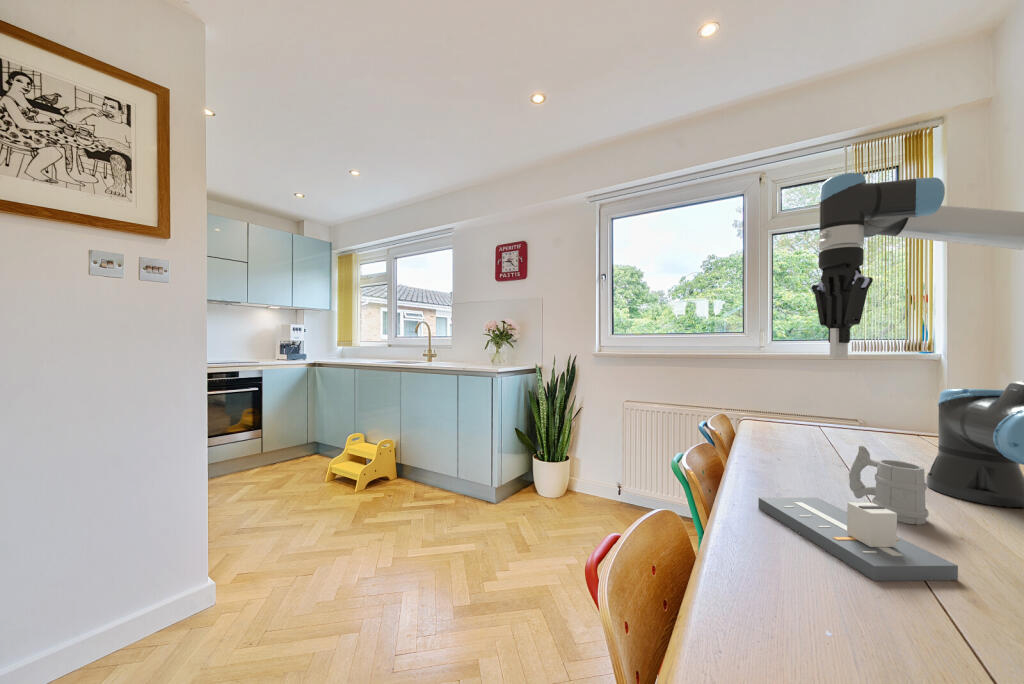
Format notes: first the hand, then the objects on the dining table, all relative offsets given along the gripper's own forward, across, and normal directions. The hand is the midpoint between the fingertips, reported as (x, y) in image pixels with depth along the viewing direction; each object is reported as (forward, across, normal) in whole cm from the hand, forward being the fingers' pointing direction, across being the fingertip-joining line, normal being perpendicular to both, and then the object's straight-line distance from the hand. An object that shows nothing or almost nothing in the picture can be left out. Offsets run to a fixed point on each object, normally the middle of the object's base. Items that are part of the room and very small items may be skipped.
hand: (838, 358), depth 87 cm
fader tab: (+27, +24, -16) cm, 40 cm away
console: (+29, +19, -16) cm, 38 cm away
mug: (+30, +9, +2) cm, 31 cm away
